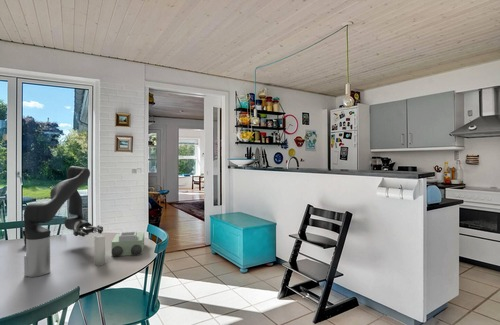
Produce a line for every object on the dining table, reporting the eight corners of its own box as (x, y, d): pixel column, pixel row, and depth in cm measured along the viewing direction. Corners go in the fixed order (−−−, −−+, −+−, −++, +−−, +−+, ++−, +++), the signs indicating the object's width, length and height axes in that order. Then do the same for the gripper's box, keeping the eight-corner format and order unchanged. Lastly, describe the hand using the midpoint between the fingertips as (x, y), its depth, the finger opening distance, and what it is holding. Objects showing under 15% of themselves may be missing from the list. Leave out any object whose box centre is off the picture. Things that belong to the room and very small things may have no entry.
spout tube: (93, 265, 150) (93, 238, 150) (95, 262, 155) (95, 235, 154) (104, 264, 151) (104, 237, 151) (105, 261, 156) (106, 235, 156)
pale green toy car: (111, 257, 162) (111, 237, 162) (117, 245, 183) (117, 228, 182) (141, 255, 167) (141, 235, 166) (144, 244, 187) (144, 226, 187)
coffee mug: (37, 246, 179) (37, 230, 179) (20, 247, 176) (20, 231, 176) (43, 241, 190) (42, 225, 190) (26, 242, 187) (26, 226, 187)
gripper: (69, 223, 167) (78, 228, 155) (96, 219, 177) (106, 224, 166) (69, 236, 167) (78, 242, 156) (96, 231, 177) (106, 237, 166)
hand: (92, 233), depth 161 cm, fingers open, 8 cm apart
